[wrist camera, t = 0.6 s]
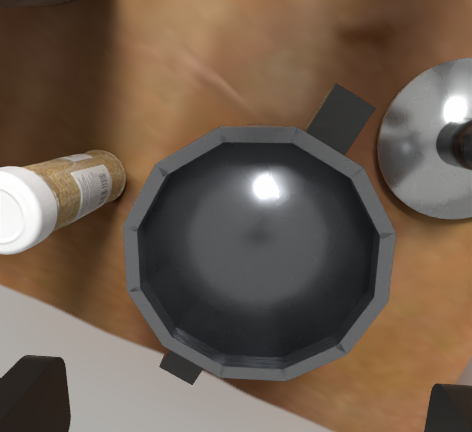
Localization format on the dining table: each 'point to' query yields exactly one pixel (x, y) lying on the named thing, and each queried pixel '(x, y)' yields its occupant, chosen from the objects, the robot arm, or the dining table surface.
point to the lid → (431, 141)
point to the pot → (261, 247)
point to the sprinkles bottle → (54, 195)
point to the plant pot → (29, 3)
